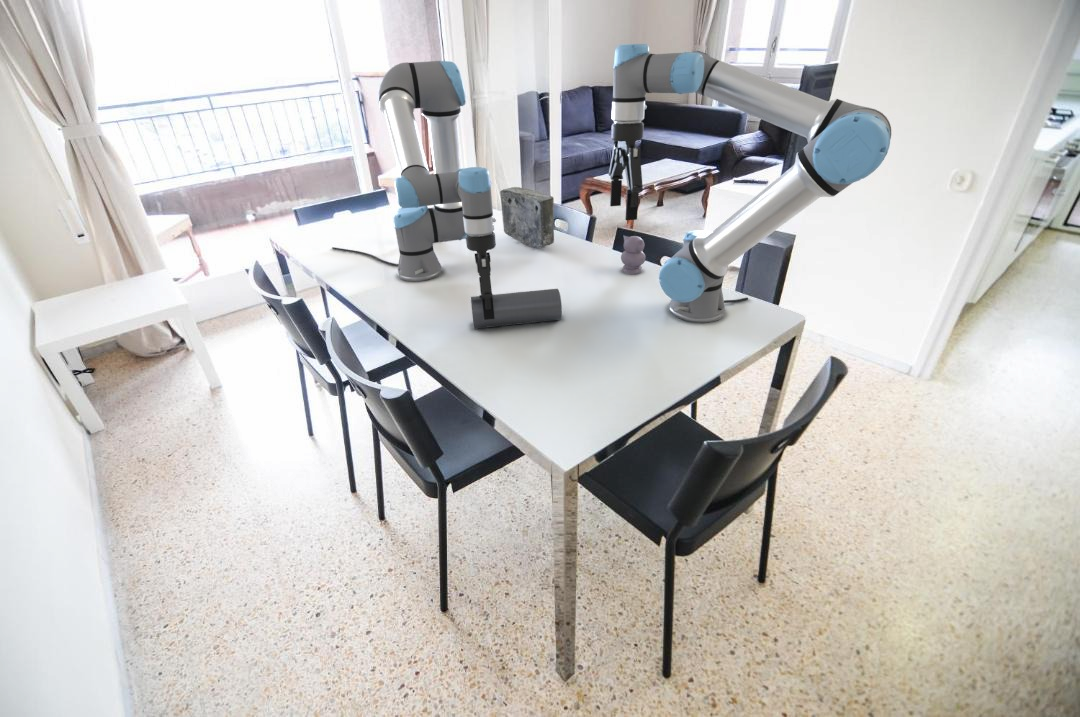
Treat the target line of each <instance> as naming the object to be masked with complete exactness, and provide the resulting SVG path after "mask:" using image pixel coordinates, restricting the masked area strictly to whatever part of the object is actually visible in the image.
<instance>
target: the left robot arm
mask: <svg viewBox="0 0 1080 717" xmlns="http://www.w3.org/2000/svg"><path fill="white" fill-rule="evenodd" d="M466 99H467V98H466V91H465V85H464V82H463V78H462V75H461V72H460V69H459V67H458V66H457V64H456V63H455V62H453V61H448V60H432V61H417V62H415V61H414V62H400V63H397V64H395V65H394V66H392V67H391V68H390V69H389V70H388V71H387V72H386V73H385V74H384V76H383V77H382V78H381V81H380V83H379V86H378V92H377V102H378V106H379V110H380V112H381V114H382V115H383V117H385V119H386V123H387V124H386V125H387V127H388V128H387V129H388V133H389V136H390V141H391V145H392V149H393V153H394V157H395V161H396V166H397V170H398V173H399V176H398V177H396V178H395V179H394V180H393V183H394V189H395V194H396V200H397V203H398V206H399V208H398V209H397V210H395V211H394V213H393V216H392V219H393V228H394V229H395V235H396V241H397V247H398V251H399V259H398V263H394V262H389V261H386V260H384V259H381V258H379V257H377V256H376V255H373V254H370V253H367V252H364V251H359V250H353V249H348V248H347V249H346V248H340V247H336V246H335V247H333V246H332V247H331V249H332V250H336V251H342V252H349V253H355V254H360V255H364V256H367V257H370V258H373V259H375V260H377V261H378V262H380V263H383V264H386V265H390V266H393V267H397V276H398V278H399V279H400V280H402V281H406V282H413V283H414V282H425V281H429V280H432V279H435V278H438V277H439V276H440V275H441V274H442V273H443V268H442V264H441V263H440V260H439V259H438V256H437V254H436V252H435V250H434V244H438V243H445V242H453V241H462V240H465V244H466V248H467V250H469V251H471V252H476V253H474V261H475V264H476V269H477V273H478V276H479V278H478V279H479V290H480V294H479V295H478V296H480V298H482V303H483V312H484V320H488V319H495V318H494V308H493V295H494V294H493V291H492V280H491V271H492V269H491V268H492V267H491V261H492V260H491V255H490V250H494V248H495V247H496V245H497V243H496V233H495V232H494V231H495V223H496V222H497V219H496V217H494V210H493V209H494V208H493V198H492V197H493V196H492V181H491V177H490V172H489V169H487V168H486V167H481V166H472V167H471V166H470V167H465V168H462V166H461V157H460V156H461V155H460V145H459V143H460V142H459V133H458V123H457V122H458V121H457V119H458V117H460V115H461V114H462V111H461V109H462V108H461V107H464V106H465V105H466ZM416 109H420V110H421V116H423V117H424V118H425V119H426V120H427V124H428V133H429V140H430V149H431V156H432V165H433V173H430V169H429V166H428V162H427V160H426V155H425V152H424V147H423V144H422V140H421V137H420V132H419V130H418V126H417V125H418V124H417V122H416V118H415V114H414V111H415V110H416ZM428 206H433V207H428Z"/></svg>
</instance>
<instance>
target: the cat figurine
mask: <svg viewBox="0 0 1080 717" xmlns="http://www.w3.org/2000/svg"><path fill="white" fill-rule="evenodd" d="M623 249H624V250H623V252H622V253H621V255H620V260H621V262H622V264H623V265H622V273H624V274H628V275H637V274H640V273H642V265H644V264H645V262H646V254H645V253H644V252H643V251H644V249H645V242H644V239H642V238H641V236H637V235H631V236H627V235H624V234H623Z"/></svg>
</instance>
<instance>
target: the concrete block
mask: <svg viewBox="0 0 1080 717" xmlns="http://www.w3.org/2000/svg"><path fill="white" fill-rule="evenodd" d="M499 193H500V203H501V218H502V225H503V232H504V234H505V235H507V236H508V237H510V238H512V239H514V240H515V241H517V242H520V243H521V244H522V245H525V246H528V247H530V248H536V249H539V248H541V249H542V248H545V247H547V246H550V245H552V244H554V243H555V224H554V223H555V219H554V218H555V209H554V208H555V203H554V201H555V200H554V196H552V195H549V194H547V193H544V192H540V191H537V190H533V189H530V188H524V187H519V186H513V187H507V188H503V189H501V190H500V191H499Z"/></svg>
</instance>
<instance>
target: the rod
mask: <svg viewBox="0 0 1080 717" xmlns="http://www.w3.org/2000/svg"><path fill="white" fill-rule="evenodd" d="M470 305H471V315H472V324H473V329H475V330H476V329H485V328H493V327H502V326H514V325H523V324H534V323H543V322H550V321H551V322H553V321H559V320H560V321H561V320H562V317H563V305H562V296H561V293H560V289H559V288H549V289H539V290H527V291H518V292H517V291H516V292H506V293H496V294H493V308H494V318H495V319H488V320H484V312H483V303H482V298H480V296H479V295H475V296H470Z"/></svg>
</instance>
